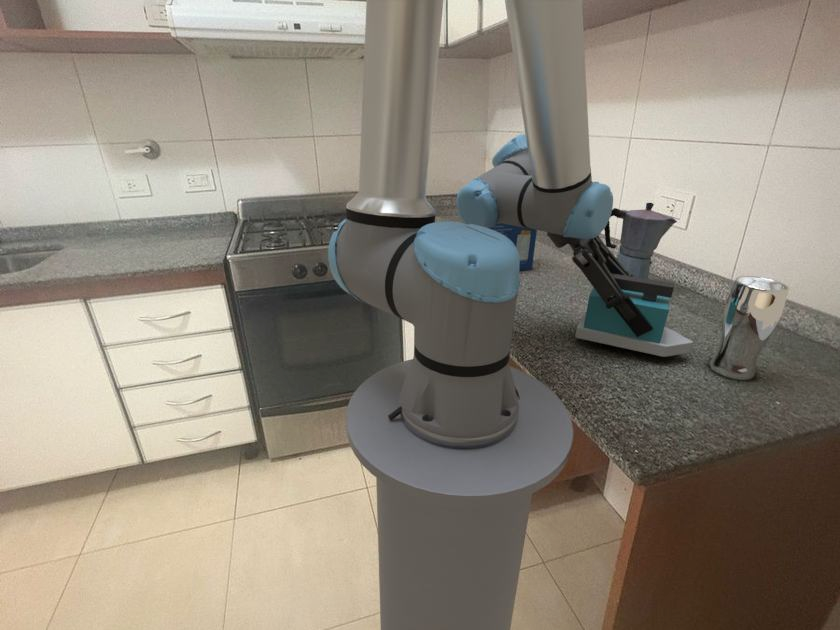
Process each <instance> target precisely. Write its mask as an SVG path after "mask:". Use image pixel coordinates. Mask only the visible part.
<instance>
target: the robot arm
mask: <svg viewBox="0 0 840 630" xmlns="http://www.w3.org/2000/svg"><path fill="white" fill-rule="evenodd" d="M365 2H366V3H365V5H366V6H365V24H364V25H365V28H364V30H365V31H364V48H363V49H364V51H363V53H364V54H363V75H362V76H363V77H362V99H361V100H362V101H361V125H360V127H361V128H360V150H359V152H360V153H359V154H360V155H359V175H358V176H359V179H358V180H359V181H358V191H357V193H356V195H354V197H352V198H351V200H349V201H348V202H347V203H346V207H345V219H343V220H342V221H340V222H339V224H338V225H337V229H336V230H335V231H333V233H332V235H331V237H330V240H329V243H328V249H327V259H328V265H329V269H330V272H331V275H332V276H333V278H334V281H335V282H336V283H337V285H338V286H339V287H340V288H341V289H342V290H343V291H344V292H346V293H347V294H349V295H351V296H352V297H353V298H355V300H357V301H359V302H361V303H363V304H365V305H369V306H372V307H374V308H377V309H379V310H381V311H383V312H385V313H387V314H390V315H392V316H393V317H396V318H398V319H400V320H402V321H404V322H407V323H409V324H411V325H412V326H413V357H412V359H413V360H412V362H411V365H410V368H409V370H408V373H407V376H406V378H405V381H404V383H403V386H402V389H401V392H400V396H399V408H398V409H396V410H395V411H394V412H392V413H391V414H389V415H388V417H389V419H390V420H393V419H394V418H395V417H397V416H398V415H399V414H400V417H401V420H402V422H403V424H404V425H405V426H406V427H407V428H408V430H409V431H411V432H412V433H413V434H414V435H416V436H417V437H419V438H421V439H422V440H424V441H427V442H429V443H432V444H434V445H438V446H441V447H446V448H452V449H476V448H482V447H486V446H490V445H493V444H495V443H498V442H500V441H501V440H503V439H505V438H506V437H507V436H508V435H509V434H511V432H512V431H513V430H514V428H515V426H516V424H517V419H518V411H519V404H518V398H519V394H518V391H517V389H516V388H515V385H514V381H513V377H512V373H511V369H510V367H511V366H510V357H511V348H512V341H513V333H514V324H515V316H516V309H517V301H518V293H519V291H520V288H521V279H520V271H519V265H520V256H519V253H518V251H517V248H516V246H515V245H514V243H513V242H512V241H511V240H510V239H509V238H507V237H506V236H504V235H503V234H501V233H499V232H496V231H494V230H492V229H489V228H490V227H492V226H494V225H495V224H496V223H504V224H508V225H513V226H518V227H523V228H531V229H535V230H537V231H540V232H545V233H546V235H547V237H548V238H549V239H550V240H551V242H552V243H553V244H554V246H555V247H556V248H557V249H561V248H563V247H565V246H566V245H569V246H570V248H571V250H572V251H573V252H572V254H573V256H572V257H571V260H572V262H573V263H574V264H575V265H576V266H577V267H578V268H579V270H580V271H581V272H582V273H583V275H584V276H585V278H586V279H587V280H588V283H590V284H591V286H592V288H593V287H594V289H595V290H596V291H597V293H598V294H599V295H600V297H601V298H602V300H603V301H604V302H605V304H606V307H607V308H608V309H610V308H611V307H614V308H615V309H616V311H617V312H618V313H619V315H620V316H621V317H622V318H623V320H624V321H625V322H626V324H627V325H628V326H629V327H630V329H631V330H632V331H633V332H634V334H635V335H636V336H637V337H639V336H641V335H643V334H645V333H647V332H649V331H651V330H653V327H652V326H651V324H650V323H649V322H648V321H647V319H646V318H645V317H644V315H643V314H642V313H641V312H640V310H639V309H638V308H637V306H636V305H635V304H634V303H633V301H632V300H631V299H630V298H629V296H627V297H626V295H625V294H624V293H623V291H622V290H621V288H620V287H619V285H618V284H617V282H616V280H615V279H614V277H613V276H612V274H619V275H625V276H629V272H628V271H626V269H625V268H624V267H623V266H622V265H621V263H620V262H619V261H618V260H617V259H616V258H617V256H615V255H614V254H613V252H612V251H611V250H610V249H609V247H607V246H606V243H604V242H603V240H602V239H601V237H600V235H601V233H602V232H604V231H605V230H604V229H605V227H606V225H607V223H608V221H609V222H610V219H611V217H612V216H611V212H612V210H613V209H614V207H613V206H614V195H613V192H612V190H611V187H610V186H609V185H607V184H605V183H600V182H599V181H593V178H592V177H593V176H592V167H591V150H590V131H589V112H588V110H589V109H588V92H587V71H586V52H585V51H586V50H585V34H584V32H585V31H584V15H583V14H584V12H583V0H504V4H505V11H506V16H507V18H506V19H507V23H508V29H509V30H508V31H509V37H510V43H511V50H512V56H513V63H514V68H515V76H516V83H517V89H518V95H519V102H520V108H521V114H522V115H521V116H522V121H523V127H524V128H523V129H524V133H521V134H518V135H516V136H514V137H513V138H511V140H509V141H507V143H505V144H504V145H503V146H502V147H501V148H500V149H498V151H497V152H496V153H495V154H494V156H493V157H492V159H491V163H492V166H493V167H492V168H491V169H489V170H487V171H486V172H484V173H482V174H481V175H479V176H477V177H475V178H474V177H473V179H472V180H471V181H470V182H469V183H467V184H466V185H464V186H462V188H461V189H460V190H459V191H458V193H457V195H456V198H455V205H456V212H457V214H458V216H459V218H460V220H461V221H462V222H463V223H462V222H460V221H436V217H437V216H436V215H437V212H436V210H435V209H434V207H433V206H432V204H430V202H429V201H428V199H427V187H428V174H429V164H430V153H431V142H432V131H433V121H434V120H433V119H434V108H435V97H436V86H437V78H438V77H437V75H438V65H439V53H440V42H441V34H442V33H441V32H442V21H443V9H444V0H366V1H365ZM610 216H611V217H610ZM611 273H612V274H611ZM630 276H632V277H634V276H633V275H630ZM613 295H614V296H613ZM611 296H612V297H611ZM517 396H518V398H517ZM519 400H520V398H519Z"/></svg>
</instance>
